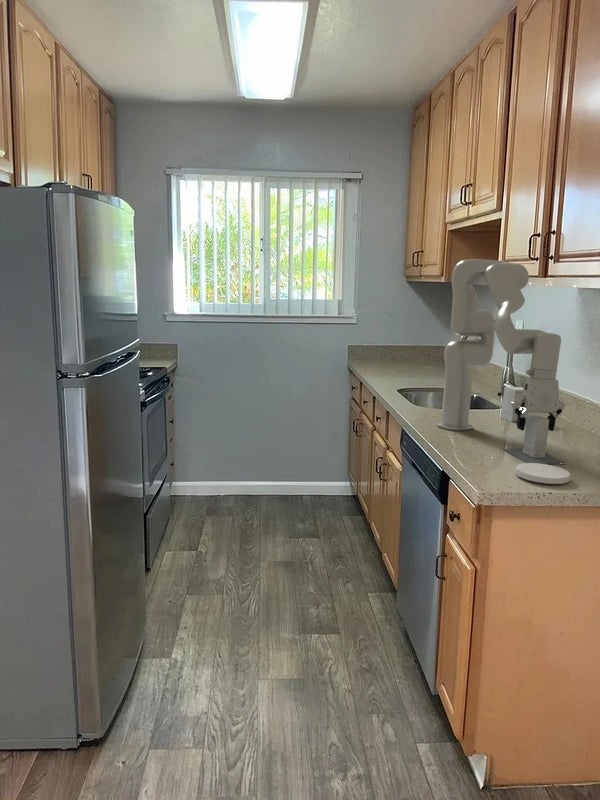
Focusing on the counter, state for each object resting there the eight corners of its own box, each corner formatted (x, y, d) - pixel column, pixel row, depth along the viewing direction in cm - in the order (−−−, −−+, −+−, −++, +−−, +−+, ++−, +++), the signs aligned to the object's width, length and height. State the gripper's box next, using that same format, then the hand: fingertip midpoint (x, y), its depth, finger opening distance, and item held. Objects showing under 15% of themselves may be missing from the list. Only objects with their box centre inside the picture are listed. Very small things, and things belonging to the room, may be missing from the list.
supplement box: (511, 422, 245) (515, 389, 243) (500, 418, 252) (503, 386, 250) (528, 421, 247) (531, 389, 245) (516, 417, 254) (520, 386, 252)
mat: (503, 450, 203) (503, 448, 203) (537, 449, 205) (538, 448, 205) (529, 464, 188) (529, 463, 187) (566, 464, 190) (566, 462, 190)
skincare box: (545, 457, 194) (550, 419, 192) (532, 458, 193) (537, 419, 191) (534, 452, 200) (538, 415, 198) (521, 452, 199) (526, 415, 197)
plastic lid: (503, 474, 177) (504, 466, 177) (538, 469, 184) (539, 460, 184) (545, 490, 166) (546, 481, 165) (580, 483, 173) (581, 474, 172)
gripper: (522, 376, 187) (515, 432, 190) (576, 377, 190) (567, 433, 193) (509, 371, 194) (503, 426, 197) (561, 372, 197) (554, 426, 200)
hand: (535, 429), depth 195 cm, fingers open, 9 cm apart
